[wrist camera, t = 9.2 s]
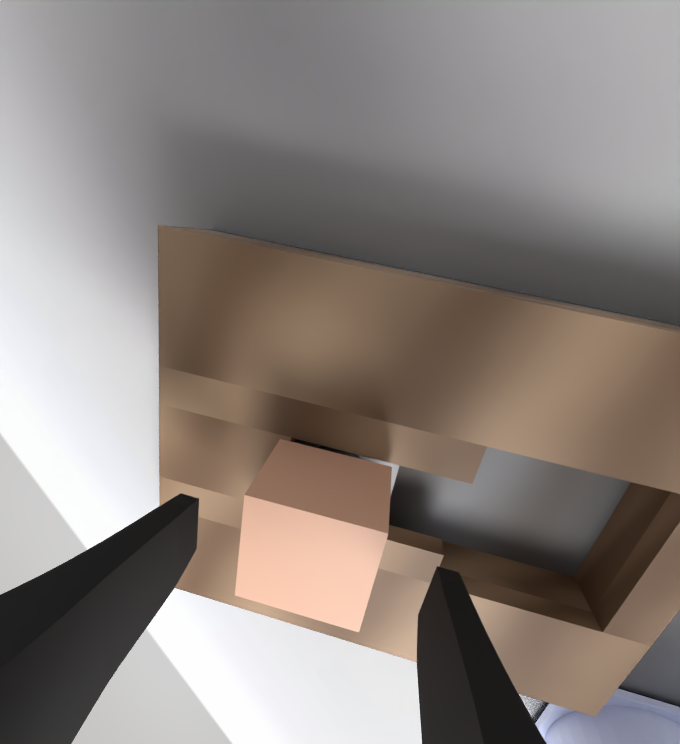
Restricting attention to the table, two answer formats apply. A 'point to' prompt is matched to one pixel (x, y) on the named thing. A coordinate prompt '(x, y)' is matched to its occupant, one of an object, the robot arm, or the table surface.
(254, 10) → the table surface
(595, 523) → the keyhole plate
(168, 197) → the table surface
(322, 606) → the peach colored cube
